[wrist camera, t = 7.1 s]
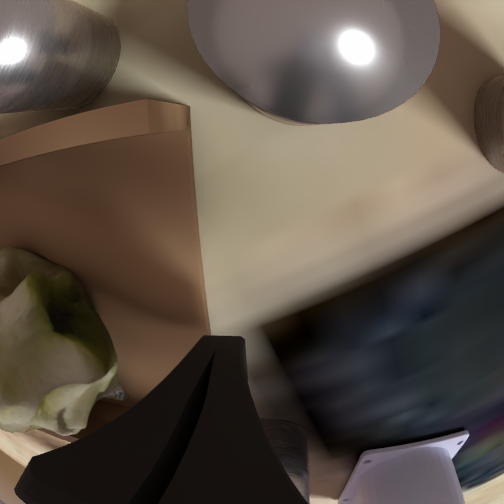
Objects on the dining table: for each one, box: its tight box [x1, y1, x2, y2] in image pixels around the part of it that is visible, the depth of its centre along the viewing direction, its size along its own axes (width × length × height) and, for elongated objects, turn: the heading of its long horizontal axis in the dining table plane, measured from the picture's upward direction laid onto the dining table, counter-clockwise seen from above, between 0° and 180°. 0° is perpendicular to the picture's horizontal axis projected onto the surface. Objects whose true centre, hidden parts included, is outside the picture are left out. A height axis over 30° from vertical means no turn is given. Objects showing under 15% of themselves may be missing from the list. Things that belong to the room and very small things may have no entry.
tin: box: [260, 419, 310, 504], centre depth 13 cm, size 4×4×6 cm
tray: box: [0, 99, 211, 443], centre depth 11 cm, size 15×14×4 cm
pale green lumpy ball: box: [0, 247, 127, 436], centre depth 10 cm, size 9×9×8 cm
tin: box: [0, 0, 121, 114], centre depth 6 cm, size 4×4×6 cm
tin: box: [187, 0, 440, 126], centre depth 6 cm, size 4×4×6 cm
